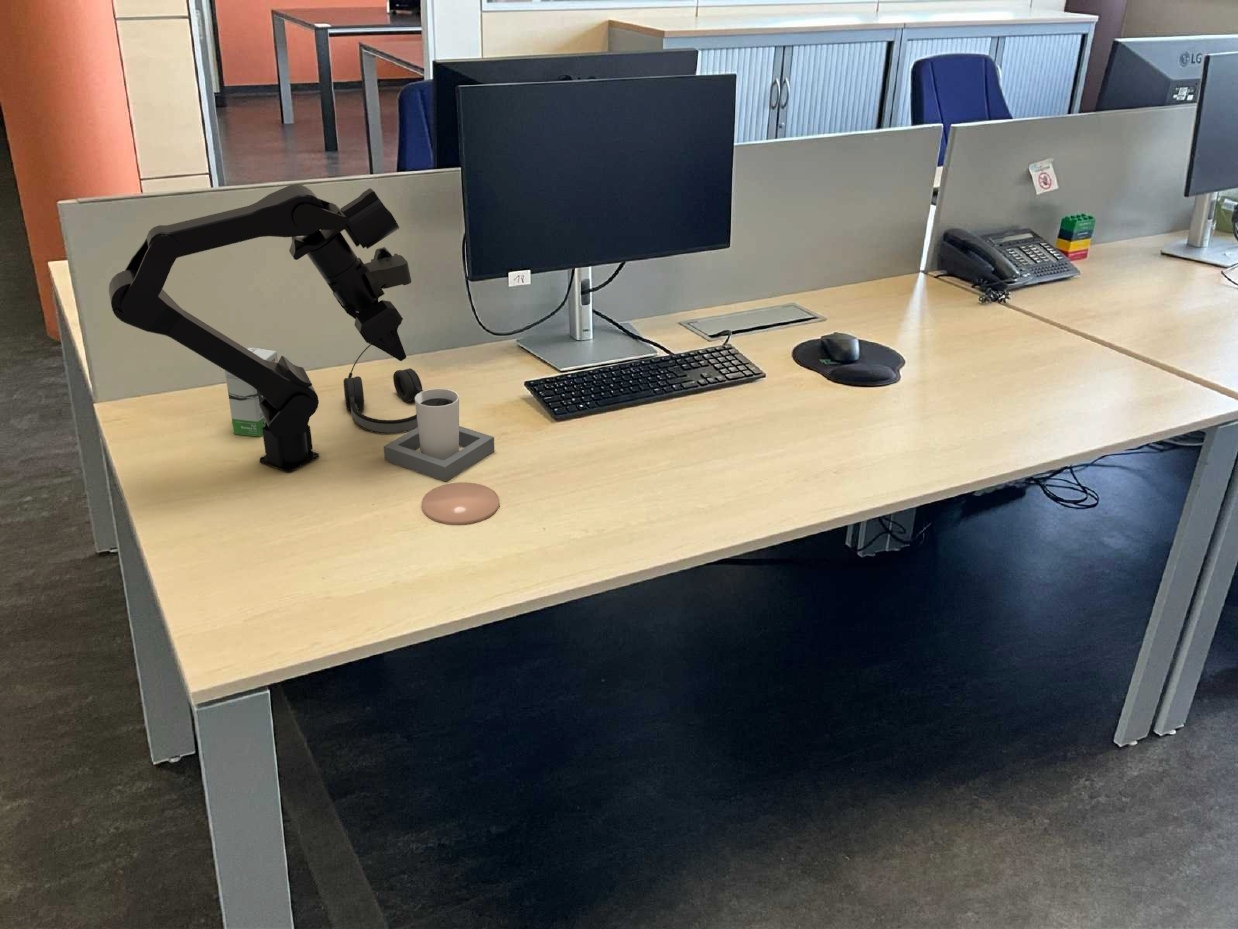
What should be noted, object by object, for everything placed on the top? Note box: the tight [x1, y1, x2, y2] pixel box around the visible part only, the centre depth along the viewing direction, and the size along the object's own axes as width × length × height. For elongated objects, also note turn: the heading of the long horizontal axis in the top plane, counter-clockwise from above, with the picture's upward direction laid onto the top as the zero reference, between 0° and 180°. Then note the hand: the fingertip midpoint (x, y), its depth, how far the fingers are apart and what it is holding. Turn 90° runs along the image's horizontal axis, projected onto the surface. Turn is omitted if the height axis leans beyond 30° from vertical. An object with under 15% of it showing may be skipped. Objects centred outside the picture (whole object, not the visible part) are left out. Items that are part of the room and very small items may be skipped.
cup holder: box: [383, 425, 495, 483], centre depth 168 cm, size 12×12×2 cm
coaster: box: [421, 481, 500, 526], centre depth 156 cm, size 11×11×1 cm
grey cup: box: [414, 388, 460, 461], centre depth 167 cm, size 7×7×10 cm
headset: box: [343, 344, 424, 435], centre depth 181 cm, size 13×9×19 cm
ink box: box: [224, 347, 279, 437], centre depth 174 cm, size 9×5×12 cm, turn 168°
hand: (395, 348), depth 166 cm, fingers open, 9 cm apart
